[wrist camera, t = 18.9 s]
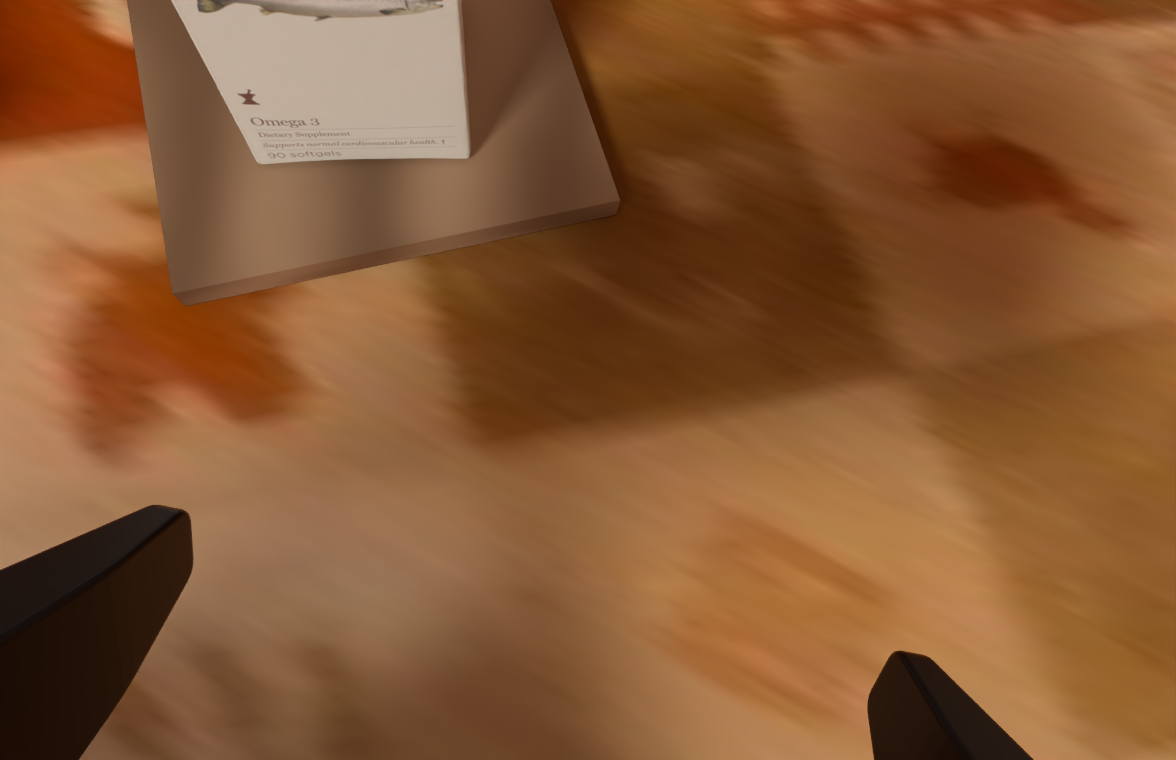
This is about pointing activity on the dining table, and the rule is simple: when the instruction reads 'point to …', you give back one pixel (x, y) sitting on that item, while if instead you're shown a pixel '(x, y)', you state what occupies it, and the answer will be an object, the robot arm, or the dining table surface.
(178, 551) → the robot arm
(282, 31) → the supplement box
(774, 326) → the dining table surface
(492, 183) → the walnut board
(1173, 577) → the dining table surface
